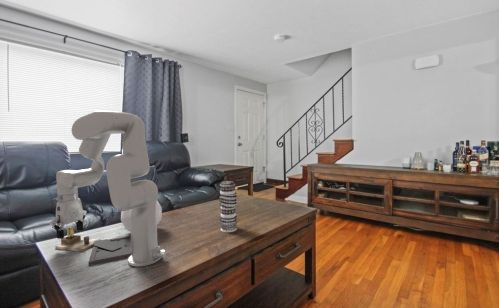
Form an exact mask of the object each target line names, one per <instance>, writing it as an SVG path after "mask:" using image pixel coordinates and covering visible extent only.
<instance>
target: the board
mask: <svg viewBox="0 0 499 308" xmlns="http://www.w3.org/2000/svg"><path fill="white" fill-rule="evenodd" d="M98 240H102V239H101V238H90V236H88V235H87V236H84V237H81V235H80V234H79V235H77V234H74V238H73V239H68V236H64V238H63V239H60V242H61V243H60V244H57V245H55V247H54V248H55V250H61V251H62V250H64V251H74V252H82V253H83V252H86V251H87V250H89V249H91V248H93V244H94V241H98Z"/></svg>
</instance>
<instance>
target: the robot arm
mask: <svg viewBox="0 0 499 308" xmlns="http://www.w3.org/2000/svg"><path fill="white" fill-rule="evenodd" d="M112 134H117V135H118V134H123V138H122V140H121V141H122V142H121V145H122V146H121V147H122V153H121V154H120V153H119V154H115V155H112V156H111V157H110V158H109V159H108V160H107V163H106V167H105V160H104V158H103V155H102V154H103V152H104V150H105V148H106V146H107V143H108V142H109V139H110V137H111V135H112ZM71 135H72V137H74V139H76V140H78V141H81V143H80V146H79V148H78V153H79V154H80V155H81V156H82V157H84V158H86V159H88V160H91V161H92V163H91V165H90V167H89V168H85V169H84V168H83V169H78V170H74V169H63V170H59V171H57V172H56V174H55V177H56V189H57V190H56V192H57V197H55V200H56V201H57V202H56V206H55V217H54V218H53V219H52V220H51V221H50V222H49V225H50V227H51V228H52V229H53V230H55V231H56V238H57V239H59V240H61V239H63V238H65V232H64V231H65V230H64V229H63V228H64V226H65V225H69V224H72V223H76V224H75V225H76V227H75V228H76V231H81V232H82V231H84V222H85V219H86V215H87V213H88V211H87V210H84V208H83V204H82V203H83V202H82V200H81V198H79V191H78V189H79V188H83V187H87V186H93V185H96V184H97V183H99V181H100V179H101V178H102V176H103V174H104V172H105V173H106V179H107V186H108V190H109V197H110V201H111V204H112V206H113V207H114V208H115V209H116V210H117V211H119V212H121V211H127V210H130V209H132V211H131V215H130V226H131V231H130V236H131V246H132V255H131V256H130V257H128V258H127V264H128V265H129V266H132V267H138V268H139V267H146V266H149V265H153V264H156V263H157V262H158V261H160V260H161V259H165V258H166V255H167V253H166V252H167V251H166V250H165V249H161V245H158V226H157V225H158V224H157V221H156V219H157V218H156V205H157V201H158V196H159V189H158V185H157V184H156V183H155V181H152V180H150V179H141V180H140V179H139V180H136V181H135V180H134V181H132V182H131V179H135V178H136V179H137V178H141V177H144V176H146V175H148V173H149V172H150V160H149V153H148V148H147V143H146V128H145V123H144V121H143V120H142V118H141V117H140V116H138V115H136V114H133V113H130V112H123V111H111V110H95V111H93V112H90V113H88V114H84V115H83V116H81V117H79V118H77V119H76V120H74V122H73V123H72V126H71Z"/></svg>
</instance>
